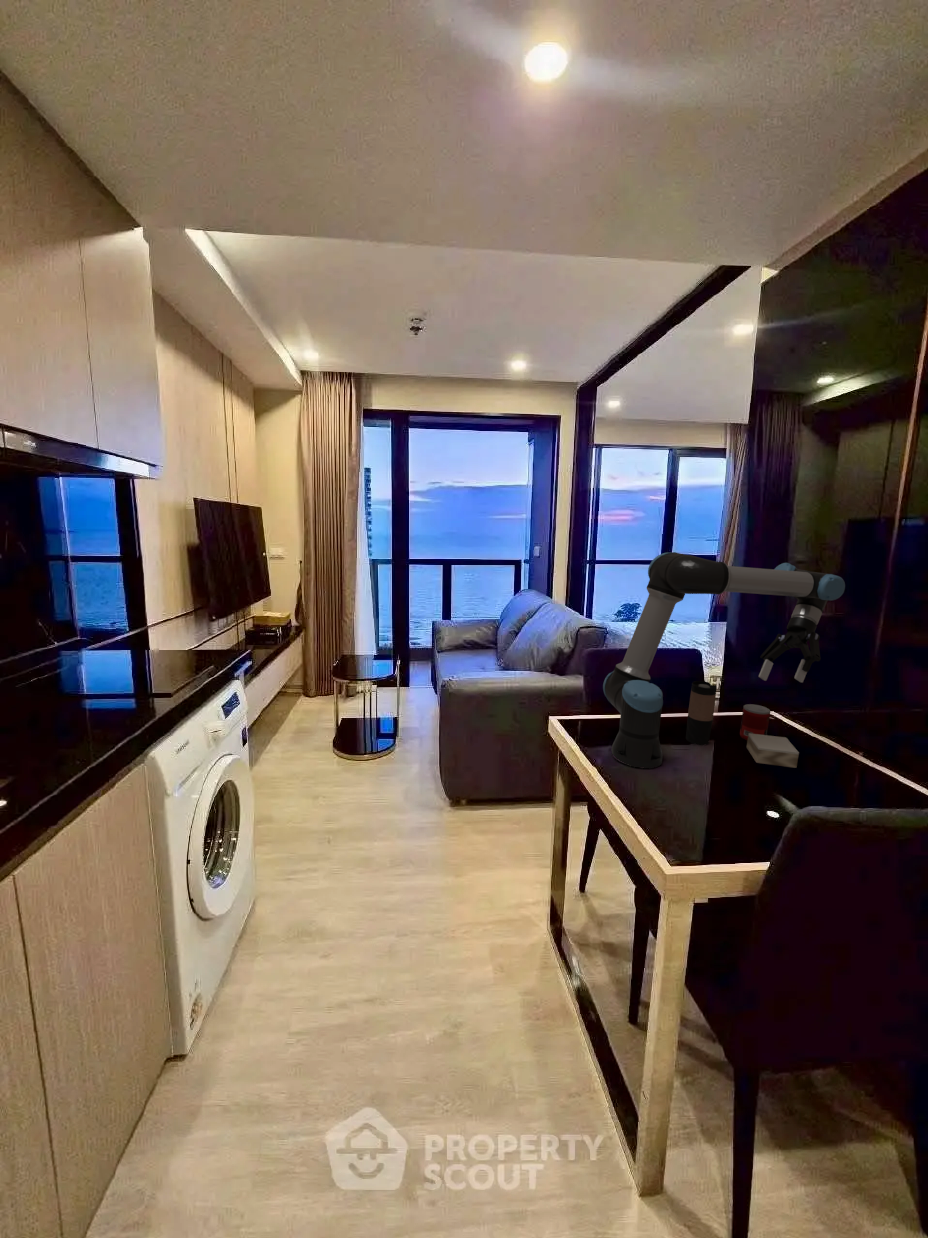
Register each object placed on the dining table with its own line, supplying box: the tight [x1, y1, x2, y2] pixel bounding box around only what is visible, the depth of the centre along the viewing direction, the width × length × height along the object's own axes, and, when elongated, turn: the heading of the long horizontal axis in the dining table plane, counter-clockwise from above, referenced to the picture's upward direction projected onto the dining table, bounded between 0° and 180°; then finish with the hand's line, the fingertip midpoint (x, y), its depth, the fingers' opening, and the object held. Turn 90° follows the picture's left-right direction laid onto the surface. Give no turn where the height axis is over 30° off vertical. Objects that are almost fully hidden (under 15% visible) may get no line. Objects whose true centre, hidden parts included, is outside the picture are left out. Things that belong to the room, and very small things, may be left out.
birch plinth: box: [746, 733, 800, 769], centre depth 159 cm, size 11×11×5 cm
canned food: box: [739, 703, 771, 741], centre depth 172 cm, size 8×8×11 cm
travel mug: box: [685, 680, 718, 746], centre depth 168 cm, size 8×8×20 cm
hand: (779, 679), depth 157 cm, fingers open, 13 cm apart
